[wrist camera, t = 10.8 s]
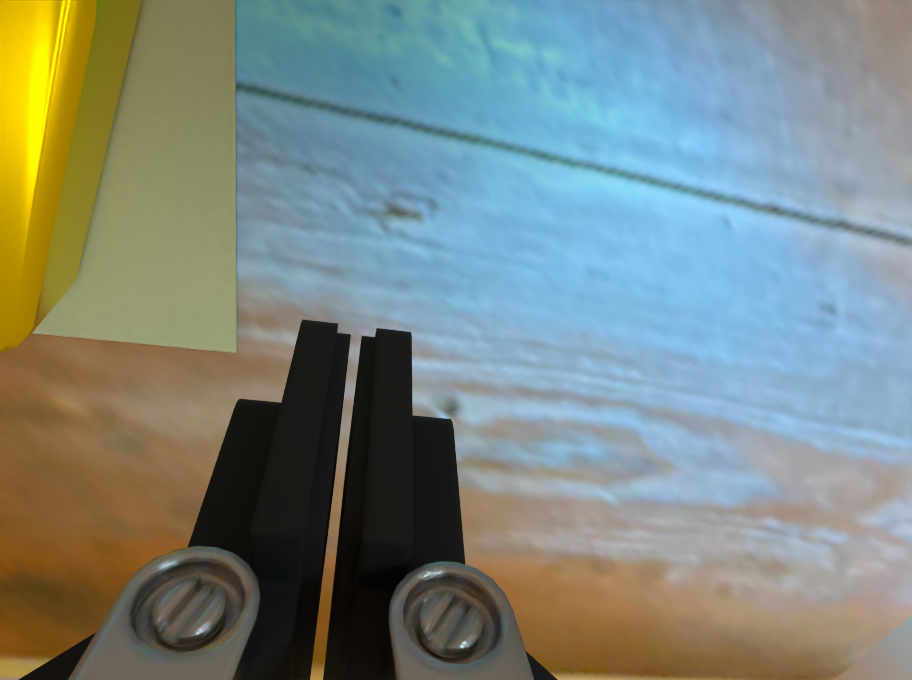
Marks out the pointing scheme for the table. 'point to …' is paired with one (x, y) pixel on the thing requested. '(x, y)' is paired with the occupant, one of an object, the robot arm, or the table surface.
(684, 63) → the table surface
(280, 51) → the table surface
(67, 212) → the element tile
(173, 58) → the mat
